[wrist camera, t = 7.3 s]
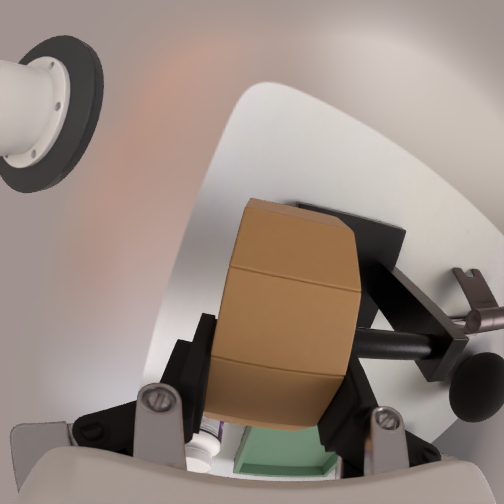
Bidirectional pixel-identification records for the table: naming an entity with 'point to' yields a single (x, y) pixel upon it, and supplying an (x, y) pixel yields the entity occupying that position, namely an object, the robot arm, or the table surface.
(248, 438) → the tray
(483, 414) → the decorative ball
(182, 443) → the robot arm
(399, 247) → the hook rack
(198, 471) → the pill bottle
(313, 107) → the table surface
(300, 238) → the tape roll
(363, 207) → the table surface
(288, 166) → the table surface
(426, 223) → the table surface
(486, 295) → the tablet stand
